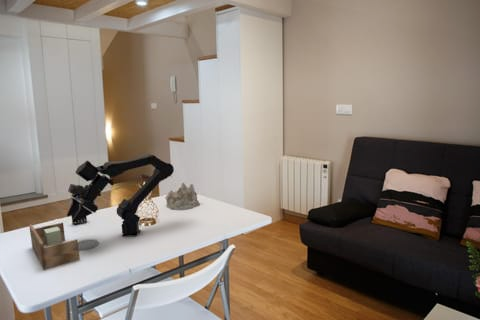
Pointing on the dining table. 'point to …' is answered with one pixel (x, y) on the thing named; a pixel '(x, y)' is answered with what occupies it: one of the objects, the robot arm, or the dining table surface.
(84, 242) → the grey mat
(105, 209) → the dining table surface
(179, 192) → the miniature castle
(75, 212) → the battery charger
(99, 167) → the robot arm
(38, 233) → the open box
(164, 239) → the dining table surface
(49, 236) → the block
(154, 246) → the dining table surface
